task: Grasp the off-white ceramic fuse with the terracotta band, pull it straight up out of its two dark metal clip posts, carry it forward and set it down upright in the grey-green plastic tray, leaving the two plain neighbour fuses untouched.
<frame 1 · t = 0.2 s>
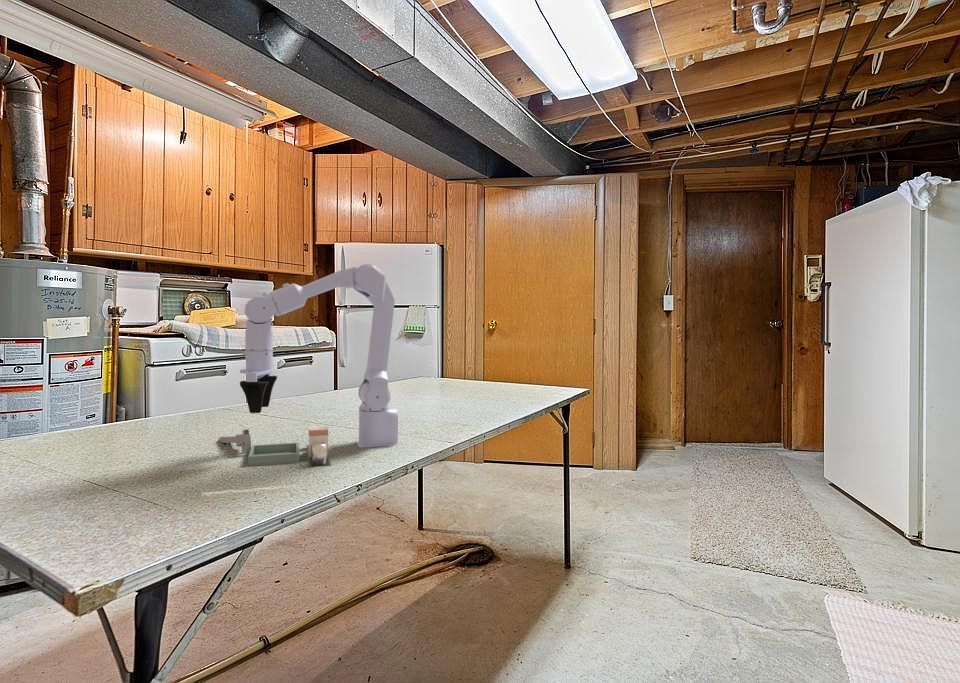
hand: (259, 409, 118), 10 cm above the table, tool pointing down, fingers open, 7 cm apart
fuse: (318, 454, 116), resting on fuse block
tray: (275, 459, 113), on the table
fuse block: (318, 456, 116), on the table
caliper: (233, 450, 122), on the table
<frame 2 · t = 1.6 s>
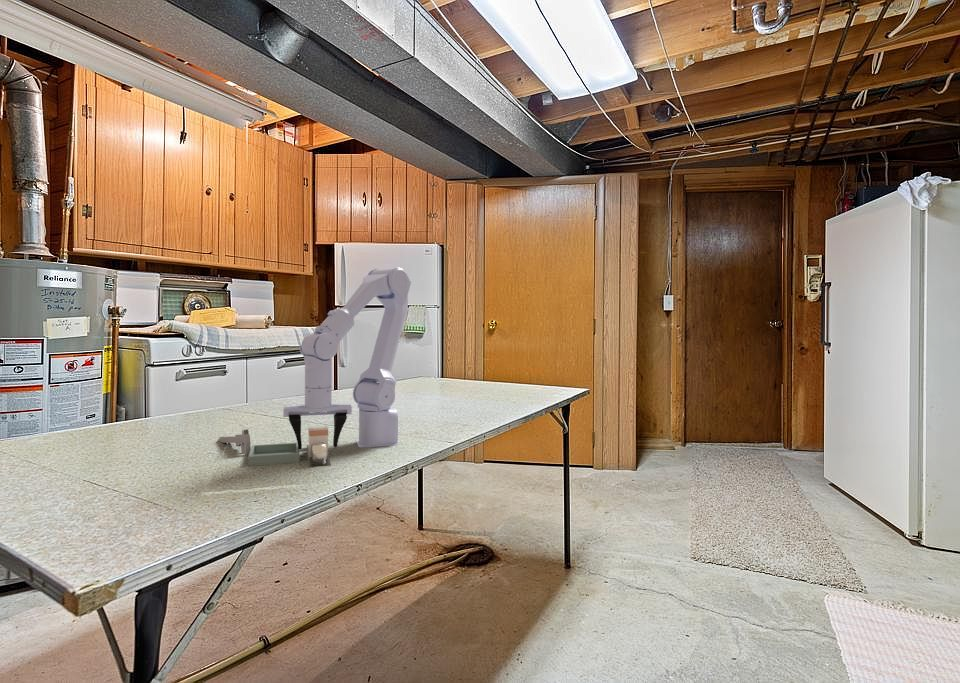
hand: (317, 447, 116), 2 cm above the table, tool pointing down, fingers open, 7 cm apart
nothing on the table moved.
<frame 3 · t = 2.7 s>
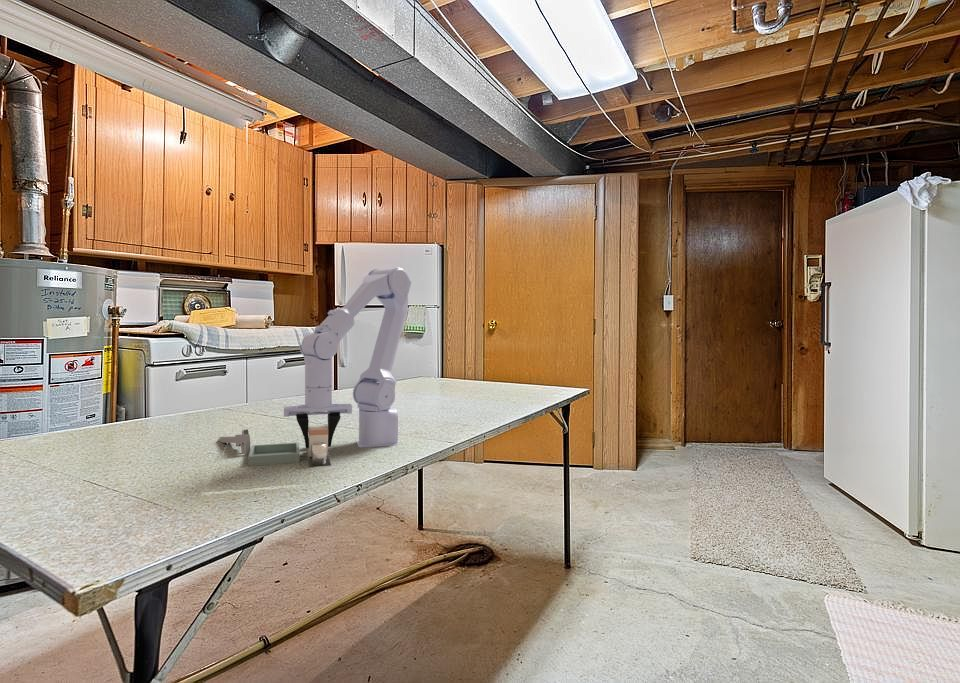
hand: (318, 446, 116), 2 cm above the table, tool pointing down, fingers closed on fuse, 4 cm apart
fuse: (318, 453, 116), point 1 cm above the table, touching gripper
everything else where it was.
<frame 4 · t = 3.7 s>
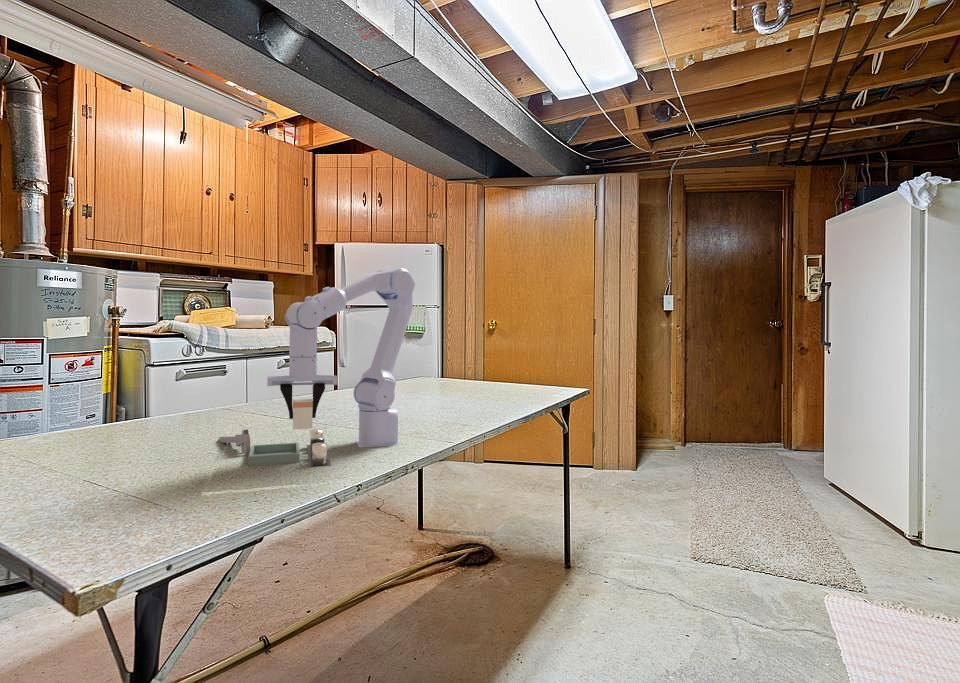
hand: (302, 417, 115), 9 cm above the table, tool pointing down, fingers closed on fuse, 4 cm apart
fuse: (302, 427, 115), point 7 cm above the table, touching gripper
everything else where it was.
when the fingers open (3 cm above the table, at t = 5.5 s): fuse stays where it is, resting on tray.
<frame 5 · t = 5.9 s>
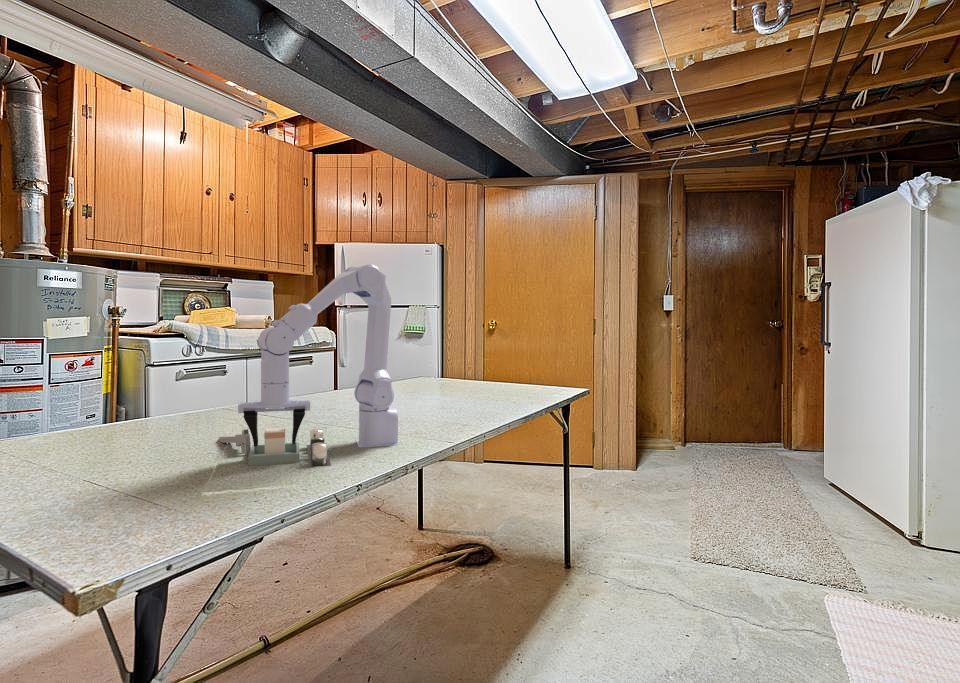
hand: (275, 444, 113), 3 cm above the table, tool pointing down, fingers open, 7 cm apart
fuse: (275, 457, 113), resting on tray
everything else where it was.
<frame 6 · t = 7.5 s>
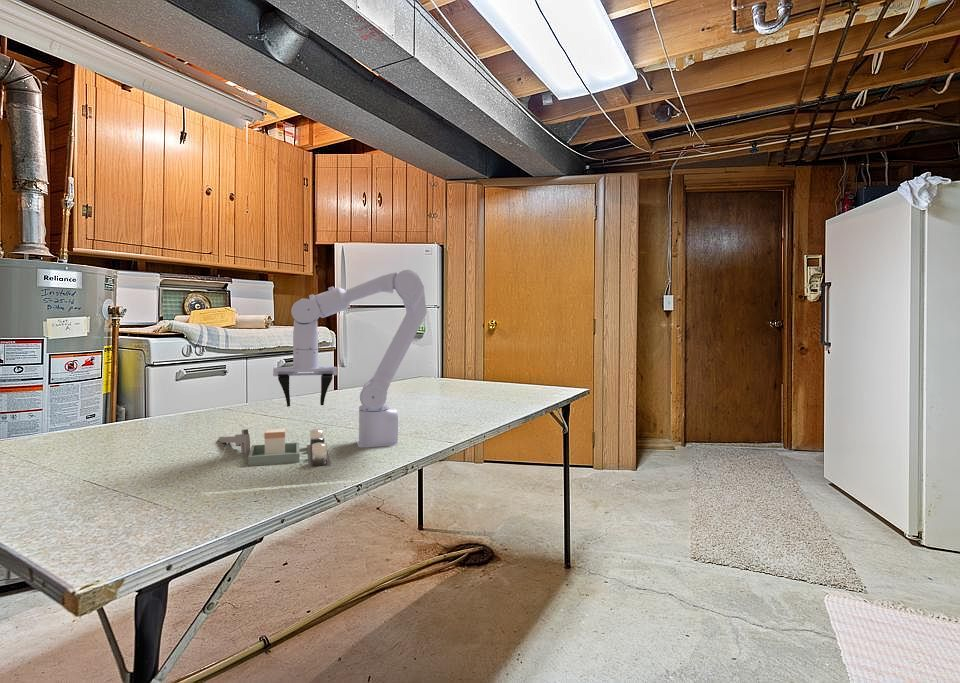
hand: (305, 405, 125), 10 cm above the table, tool pointing down, fingers open, 7 cm apart
nothing on the table moved.
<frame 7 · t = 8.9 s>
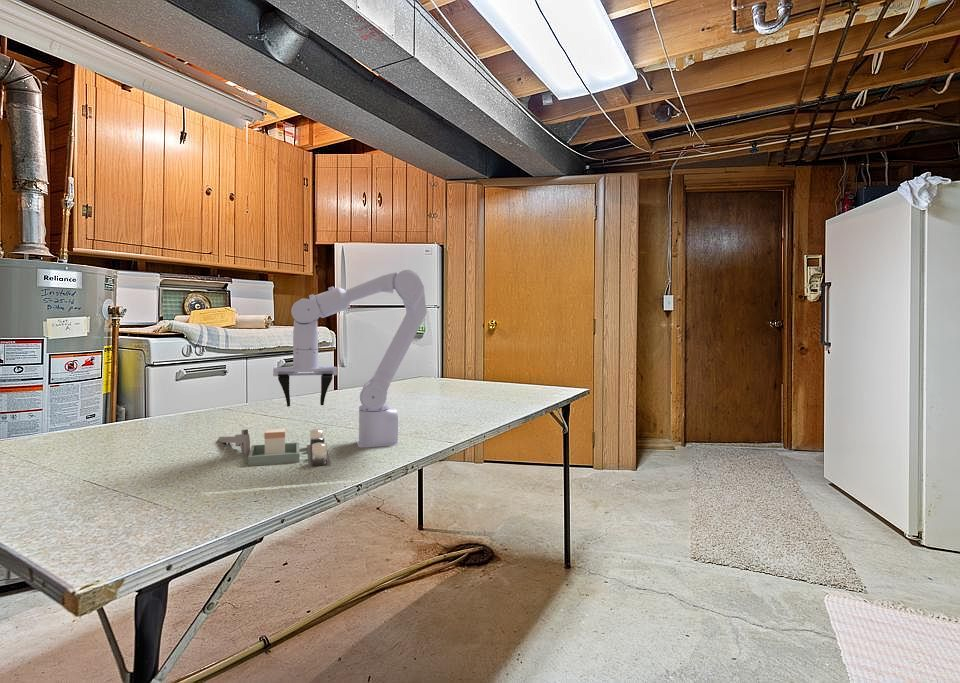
hand: (305, 405, 125), 10 cm above the table, tool pointing down, fingers open, 7 cm apart
nothing on the table moved.
at the end: fuse inside the target area on the tray (0.0 cm from its centre), point 0.5 cm above the tray's base; fuse tilted 0°; the gripper is holding nothing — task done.
